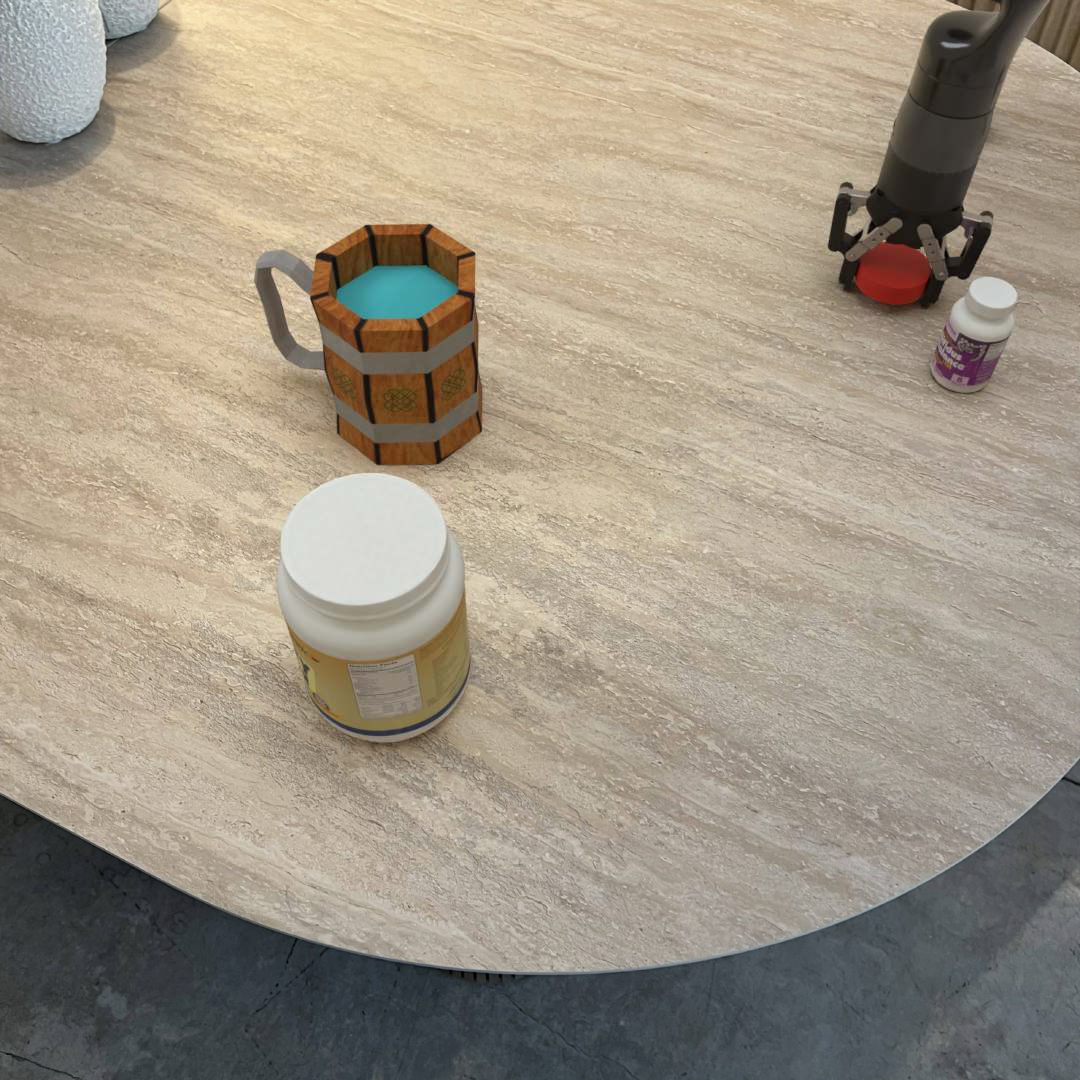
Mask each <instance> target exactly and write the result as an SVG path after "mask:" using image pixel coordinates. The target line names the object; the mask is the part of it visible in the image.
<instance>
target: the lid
mask: <svg viewBox="0 0 1080 1080" xmlns="http://www.w3.org/2000/svg"><path fill="white" fill-rule="evenodd" d="M931 268H932V267H931V264H930V263H929V262H928V260H927V257H926V255H925V254H924V253H923V252H922V251H920V250H918V249H913V248H910V247H908V246H906V245H903V244H890V243H886V241H882V242H881V243H880V244H879V245H877V246H876V247H875V248H874V249H873V250H868V251H867V252H866V253H865V254H863V255H862V256H861V257H860V260H859V264H858V267H857V270H856V274H855V277H854V281H855V284H856V286H857V288H858V289H859V290H860V291H861V292H862V293H863V294H864V295H865V296H866V297H868V298H870V299H872V300H874V301H877V302H880V303H883V304H886V305H907V304H911V303H913V302H915V301H917V300H919V299H921V297H922V295H923V293H924V291H925V289H926V286H927V283H928V281H929V278H930V275H931Z"/></svg>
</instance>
